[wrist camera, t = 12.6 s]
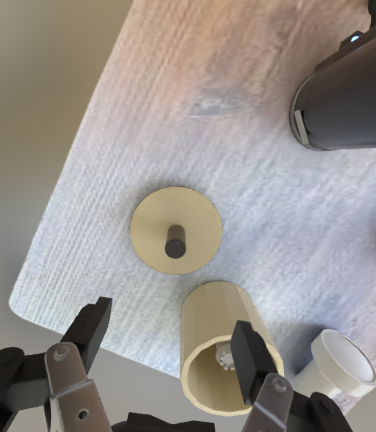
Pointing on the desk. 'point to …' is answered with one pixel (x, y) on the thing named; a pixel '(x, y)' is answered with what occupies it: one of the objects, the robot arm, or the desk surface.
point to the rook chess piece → (224, 354)
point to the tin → (206, 346)
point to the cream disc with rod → (176, 230)
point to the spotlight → (336, 368)
